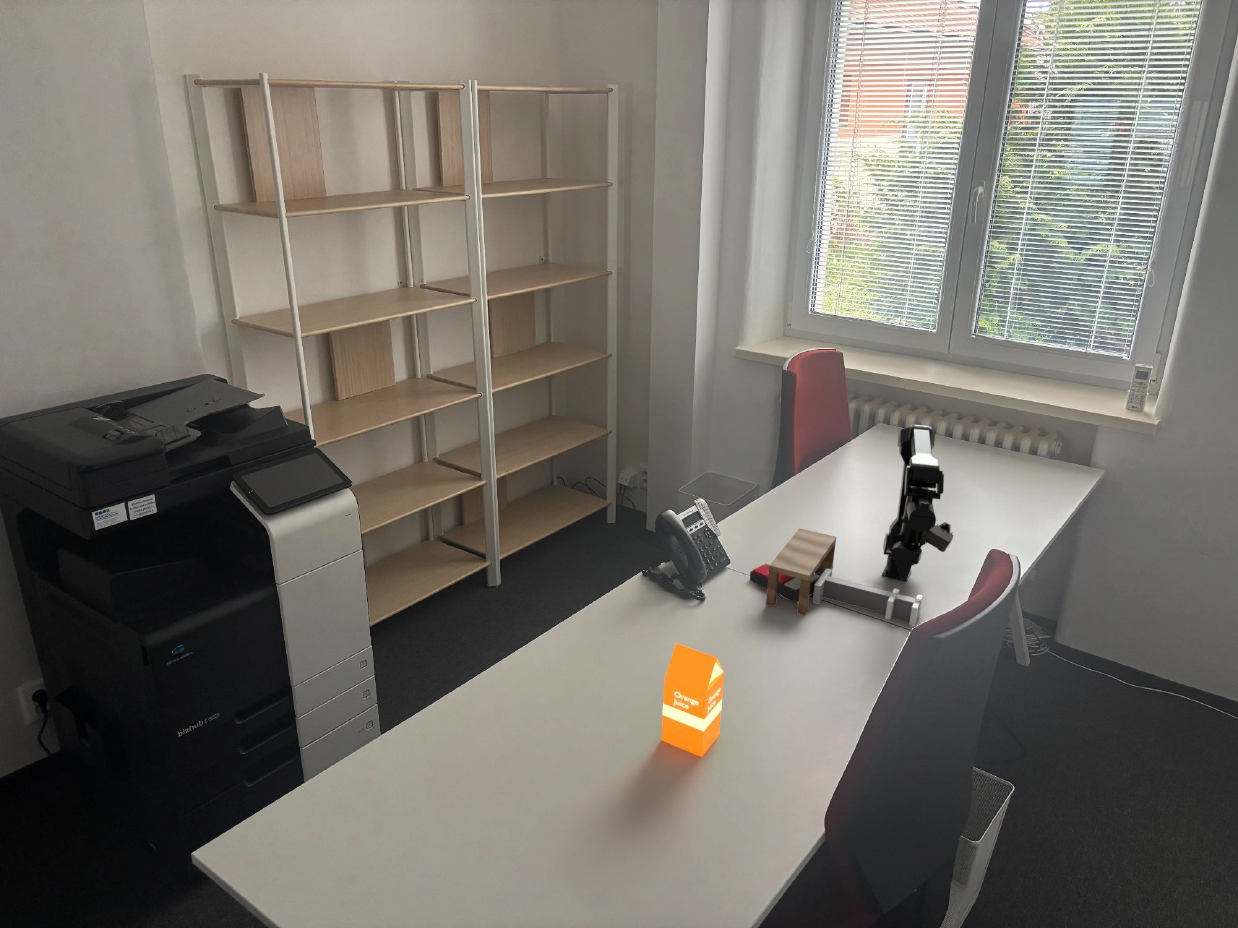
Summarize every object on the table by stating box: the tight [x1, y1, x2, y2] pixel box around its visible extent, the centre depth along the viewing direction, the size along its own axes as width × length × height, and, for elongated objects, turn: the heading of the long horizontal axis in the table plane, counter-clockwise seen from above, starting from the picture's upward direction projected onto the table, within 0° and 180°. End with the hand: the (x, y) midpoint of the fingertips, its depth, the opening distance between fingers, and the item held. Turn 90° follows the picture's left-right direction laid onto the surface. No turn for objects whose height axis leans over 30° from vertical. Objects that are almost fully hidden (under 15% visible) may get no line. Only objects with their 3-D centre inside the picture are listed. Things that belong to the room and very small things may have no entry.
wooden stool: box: [765, 527, 837, 616], centre depth 221 cm, size 24×10×11 cm, turn 152°
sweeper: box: [812, 568, 924, 627], centre depth 215 cm, size 10×24×5 cm, turn 61°
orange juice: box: [661, 642, 725, 758], centre depth 165 cm, size 8×9×20 cm
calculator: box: [749, 559, 821, 604], centre depth 225 cm, size 11×4×15 cm
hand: (907, 572), depth 208 cm, fingers open, 9 cm apart
